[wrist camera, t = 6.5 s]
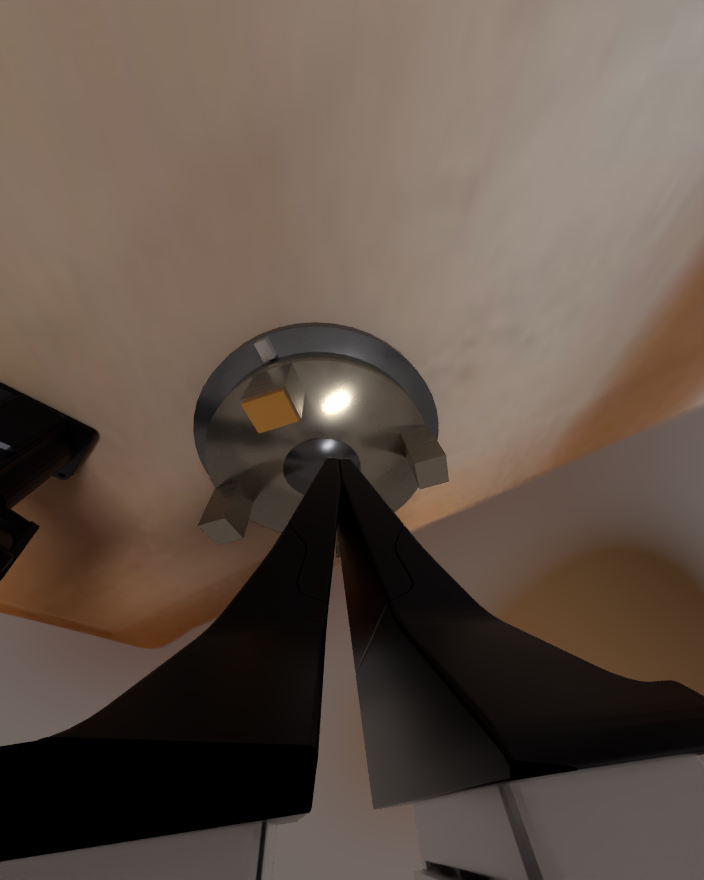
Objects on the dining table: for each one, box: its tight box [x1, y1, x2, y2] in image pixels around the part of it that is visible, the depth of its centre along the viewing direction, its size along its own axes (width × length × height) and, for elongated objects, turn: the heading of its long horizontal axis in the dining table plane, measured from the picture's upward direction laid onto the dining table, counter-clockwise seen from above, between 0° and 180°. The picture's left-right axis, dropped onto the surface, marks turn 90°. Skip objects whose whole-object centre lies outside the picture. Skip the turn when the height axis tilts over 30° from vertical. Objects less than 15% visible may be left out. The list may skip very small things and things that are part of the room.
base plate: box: [194, 322, 438, 475], centre depth 22 cm, size 20×20×2 cm
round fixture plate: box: [198, 352, 449, 566], centre depth 20 cm, size 17×17×6 cm
